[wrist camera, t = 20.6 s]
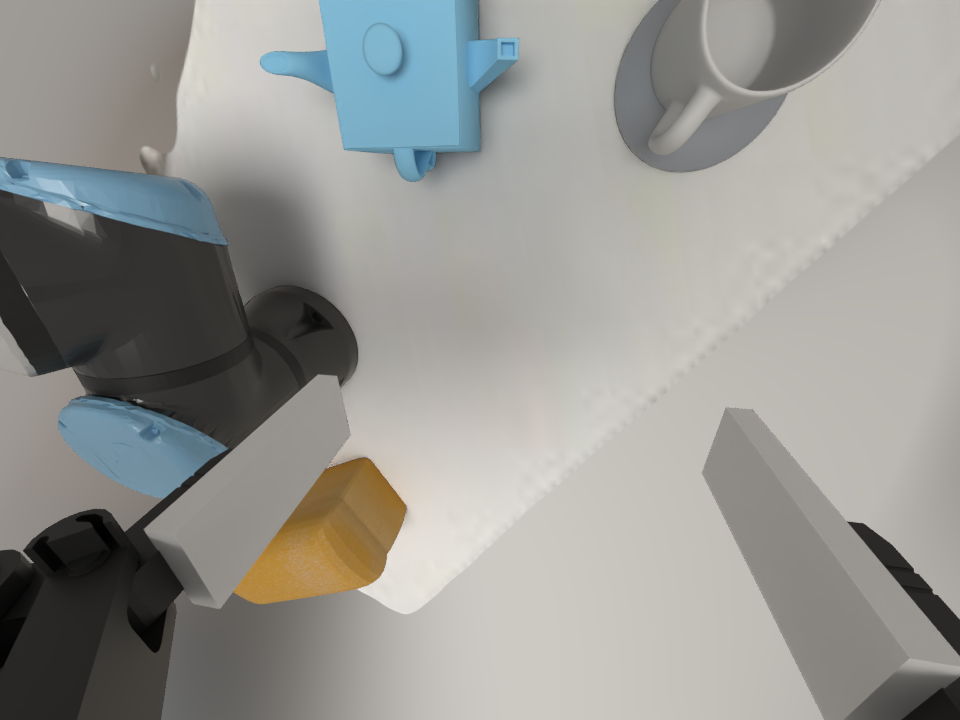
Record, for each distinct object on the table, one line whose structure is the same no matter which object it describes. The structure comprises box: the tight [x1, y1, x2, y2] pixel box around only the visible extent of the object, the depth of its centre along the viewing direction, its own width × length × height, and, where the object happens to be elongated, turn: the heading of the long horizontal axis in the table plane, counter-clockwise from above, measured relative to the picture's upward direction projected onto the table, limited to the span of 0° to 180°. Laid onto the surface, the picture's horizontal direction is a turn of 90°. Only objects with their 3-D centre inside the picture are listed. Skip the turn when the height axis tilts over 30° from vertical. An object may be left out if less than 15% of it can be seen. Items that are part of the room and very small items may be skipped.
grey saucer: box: [615, 0, 787, 172], centre depth 29 cm, size 13×13×1 cm
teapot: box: [260, 0, 519, 182], centre depth 28 cm, size 16×18×11 cm
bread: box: [233, 458, 406, 604], centre depth 56 cm, size 24×13×15 cm, turn 118°
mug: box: [648, 0, 881, 155], centre depth 24 cm, size 12×8×11 cm
